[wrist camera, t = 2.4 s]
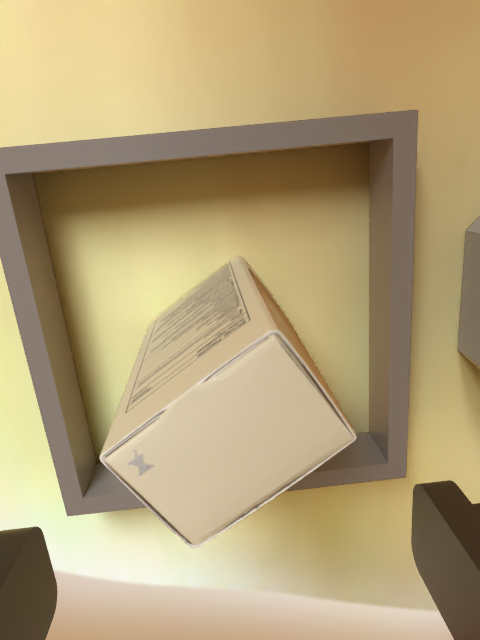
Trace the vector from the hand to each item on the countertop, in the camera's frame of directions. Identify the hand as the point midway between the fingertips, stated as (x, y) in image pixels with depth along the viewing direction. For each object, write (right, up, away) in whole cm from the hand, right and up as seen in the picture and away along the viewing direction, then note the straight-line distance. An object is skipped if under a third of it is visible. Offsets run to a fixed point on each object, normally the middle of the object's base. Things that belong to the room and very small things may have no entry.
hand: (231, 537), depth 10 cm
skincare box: (-1, +5, +14) cm, 15 cm away
